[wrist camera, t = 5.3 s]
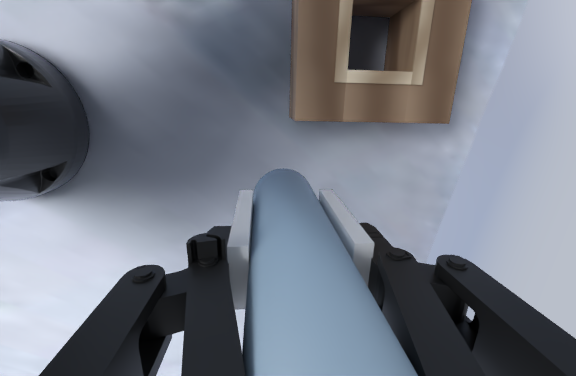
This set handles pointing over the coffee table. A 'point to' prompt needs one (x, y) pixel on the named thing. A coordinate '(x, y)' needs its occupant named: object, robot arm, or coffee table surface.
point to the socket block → (397, 70)
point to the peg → (309, 293)
